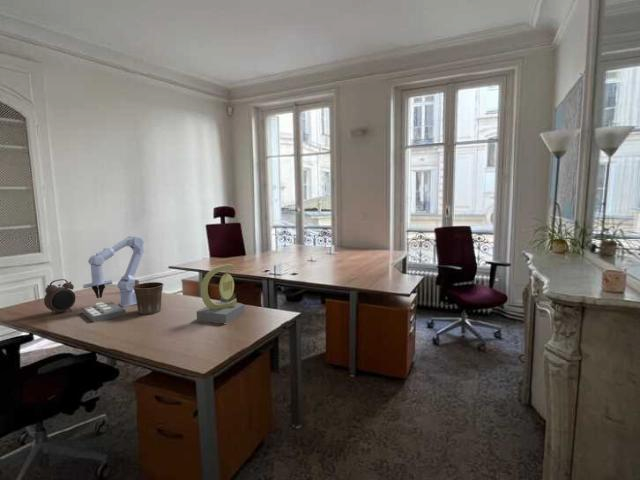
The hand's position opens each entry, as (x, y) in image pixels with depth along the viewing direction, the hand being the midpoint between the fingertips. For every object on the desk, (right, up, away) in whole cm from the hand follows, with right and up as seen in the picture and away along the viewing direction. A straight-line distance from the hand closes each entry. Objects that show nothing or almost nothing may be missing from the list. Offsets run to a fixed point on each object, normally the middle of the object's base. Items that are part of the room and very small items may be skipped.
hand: (99, 297), depth 205 cm
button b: (+5, -7, -4) cm, 10 cm away
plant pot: (+31, -8, 0) cm, 32 cm away
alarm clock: (-22, -9, -1) cm, 24 cm away
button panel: (+5, -9, -4) cm, 11 cm away
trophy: (+76, -9, -11) cm, 78 cm away
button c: (+10, -8, -9) cm, 15 cm away
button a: (0, -7, +1) cm, 7 cm away
